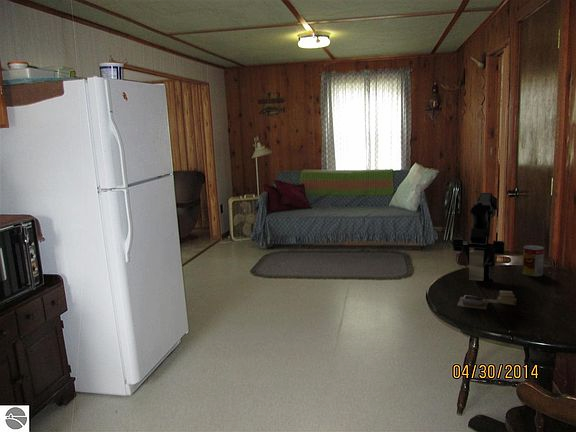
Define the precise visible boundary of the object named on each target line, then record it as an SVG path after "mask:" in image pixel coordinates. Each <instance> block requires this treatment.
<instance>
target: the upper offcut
mask: <svg viewBox="0 0 576 432" xmlns="http://www.w3.org/2000/svg"><path fill="white" fill-rule="evenodd" d="M498 293H499V294H498V295H500V298H501V299H507V300H514V299H515V294H514V293H513V291H512V290H499V292H498Z"/></svg>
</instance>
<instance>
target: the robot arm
mask: <svg viewBox="0 0 576 432" xmlns="http://www.w3.org/2000/svg"><path fill="white" fill-rule="evenodd" d="M498 204H499V203H498V198H497V197H495V195H493V193H492V192H480V195H479V196H478V198H477V201H476V202H474V204H473V205H472V206H471V208H470V216H471V220H472V228H470V235H469V236H470V237H469V241H470V242H468V241H465V240H464V238H458V237H457V238H453V239H452V249H453V251H454V252H461V253H462V254H464V255H465V258H466V261H467V264H468V265H467V266H469V252H470V249H473V250H478V251H484V261H483V266H484V279H483V281H492V280H494V279H493V277H492V276H491V274H490V273H491V271H490V270H491V267H492V268H493V267H495V266H496V256H495V255H497V254H498V255H505V252H506V251H505V249H506V245H505V244H506V243H505V241H504V240H493V242H492V243H490V237H491V224H492V219H493V218H494V217H495V216H496V213H497V210H498V209H499V205H498Z"/></svg>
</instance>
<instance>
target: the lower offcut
mask: <svg viewBox="0 0 576 432" xmlns="http://www.w3.org/2000/svg"><path fill="white" fill-rule="evenodd" d="M498 295H499V294H498ZM498 297H499V303H498V304H500V303H505V304H504V305H508V304H514V300H507V299H501V298H500V295H499V296H498Z"/></svg>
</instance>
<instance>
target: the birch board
mask: <svg viewBox="0 0 576 432" xmlns="http://www.w3.org/2000/svg"><path fill="white" fill-rule="evenodd" d="M469 251H470V252H469V265H468V280H469V281H470V280H471V281H482V282H483V281H484V280H483V279H484V266H483V261H484V251H478V250H474V249H469Z"/></svg>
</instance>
